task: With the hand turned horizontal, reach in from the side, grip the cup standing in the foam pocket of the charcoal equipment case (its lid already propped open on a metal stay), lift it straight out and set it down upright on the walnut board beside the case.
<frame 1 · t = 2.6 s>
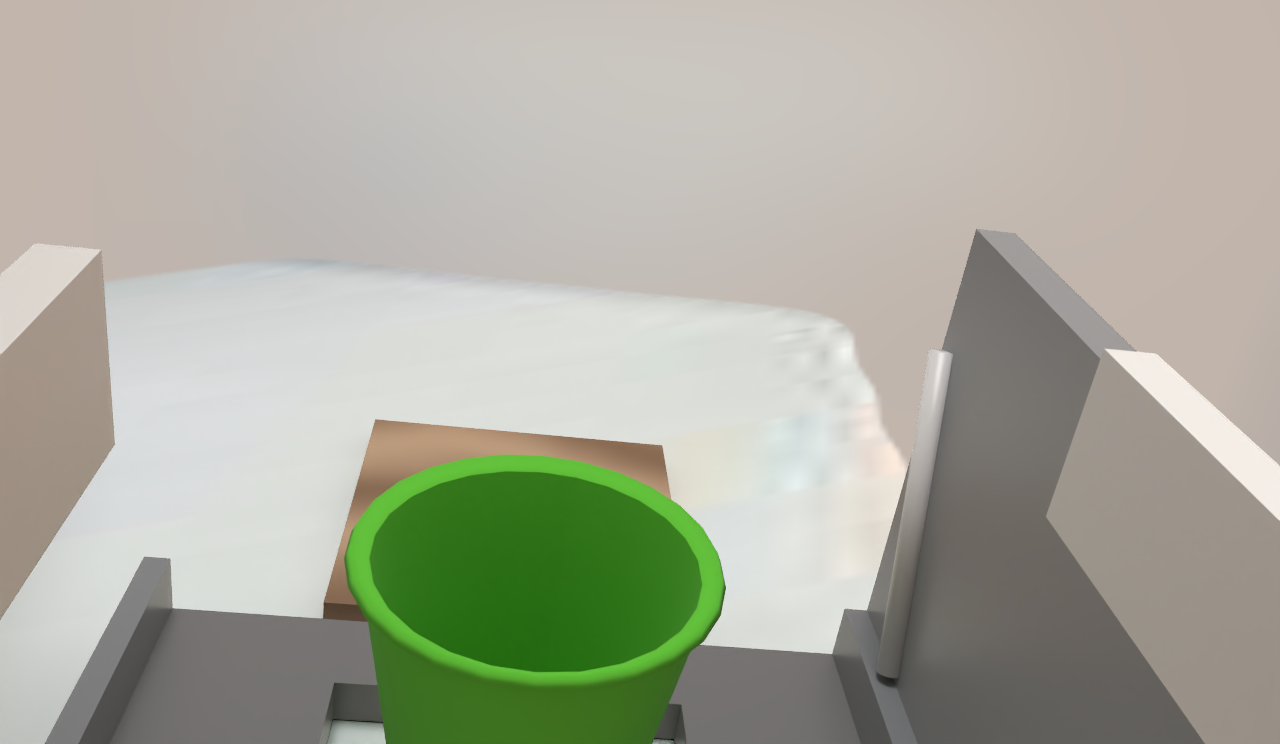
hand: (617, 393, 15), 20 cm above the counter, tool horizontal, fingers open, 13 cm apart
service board: (514, 533, 47), on the counter
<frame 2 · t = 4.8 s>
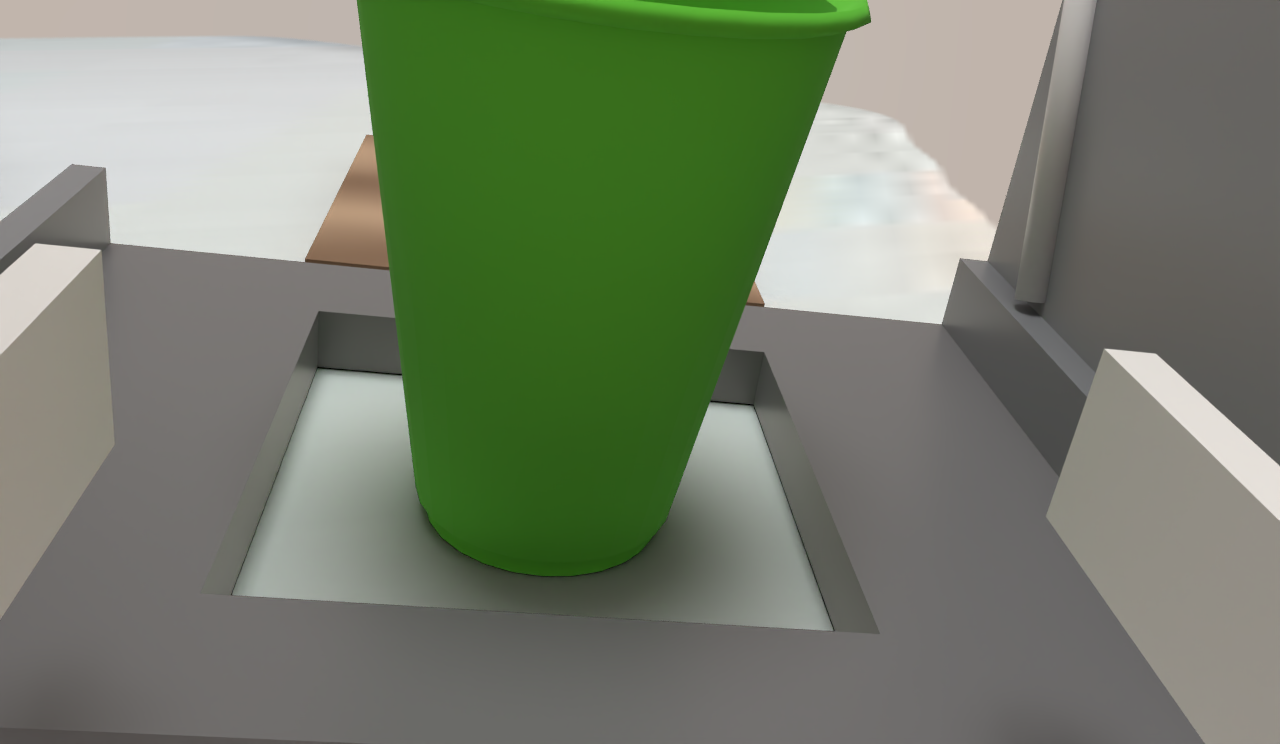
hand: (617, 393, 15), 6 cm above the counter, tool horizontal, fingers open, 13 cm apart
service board: (537, 236, 39), on the counter
cup: (541, 514, 24), resting in equipment case
equipment case: (542, 505, 24), on the counter
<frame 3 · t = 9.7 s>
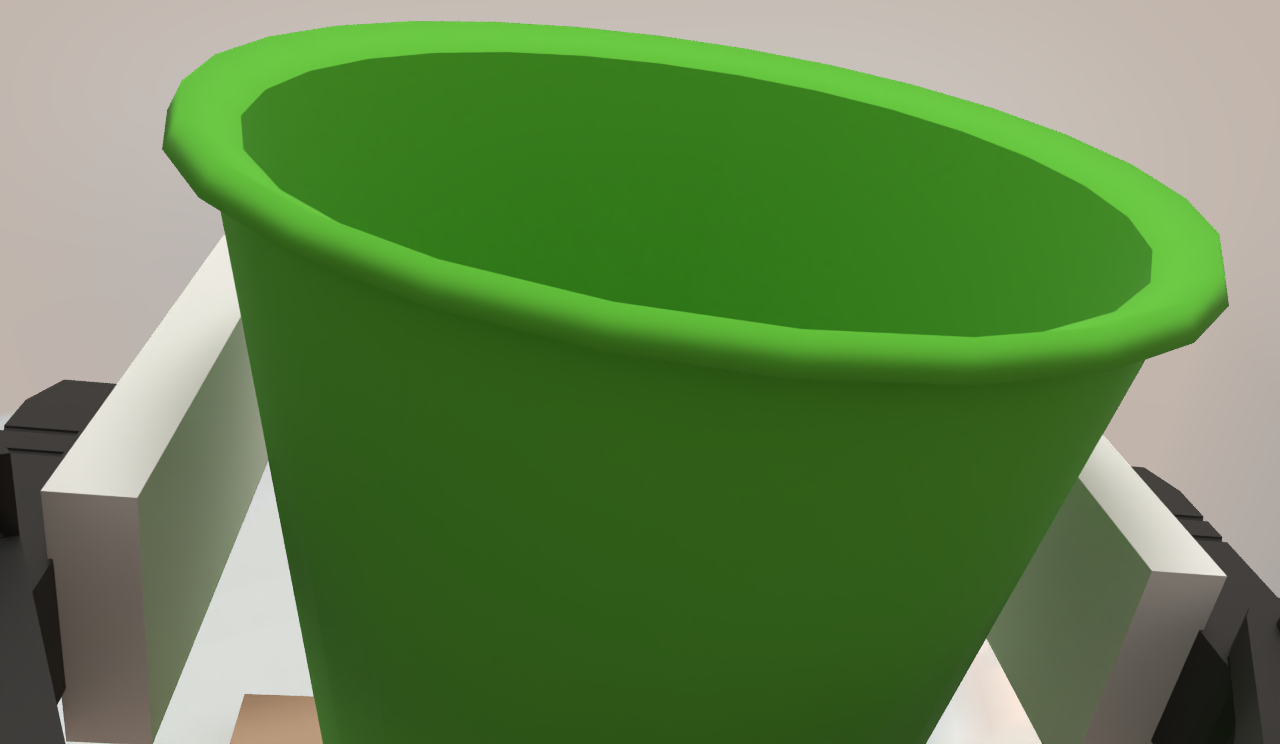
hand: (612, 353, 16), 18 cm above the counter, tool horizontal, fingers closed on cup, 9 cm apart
when the fingers open (9 cm above the counter, at t = 12.6 s): cup drops 1 cm, resting on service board.
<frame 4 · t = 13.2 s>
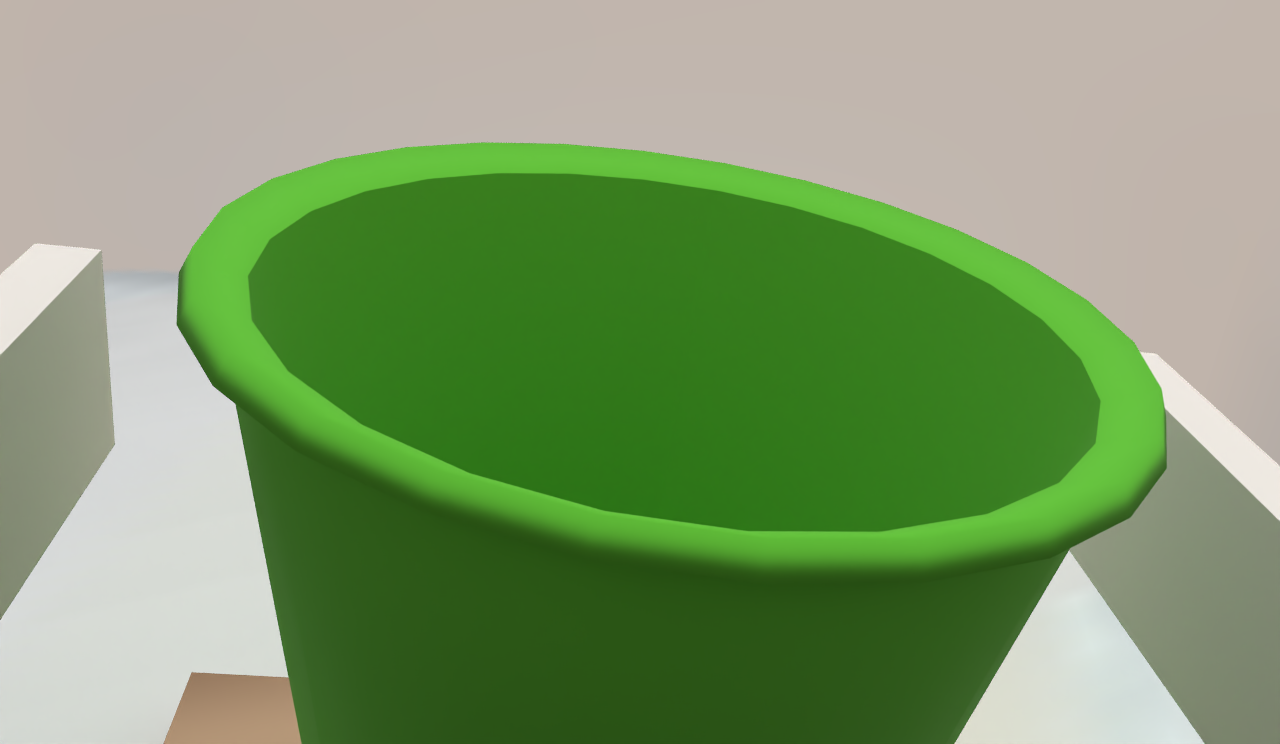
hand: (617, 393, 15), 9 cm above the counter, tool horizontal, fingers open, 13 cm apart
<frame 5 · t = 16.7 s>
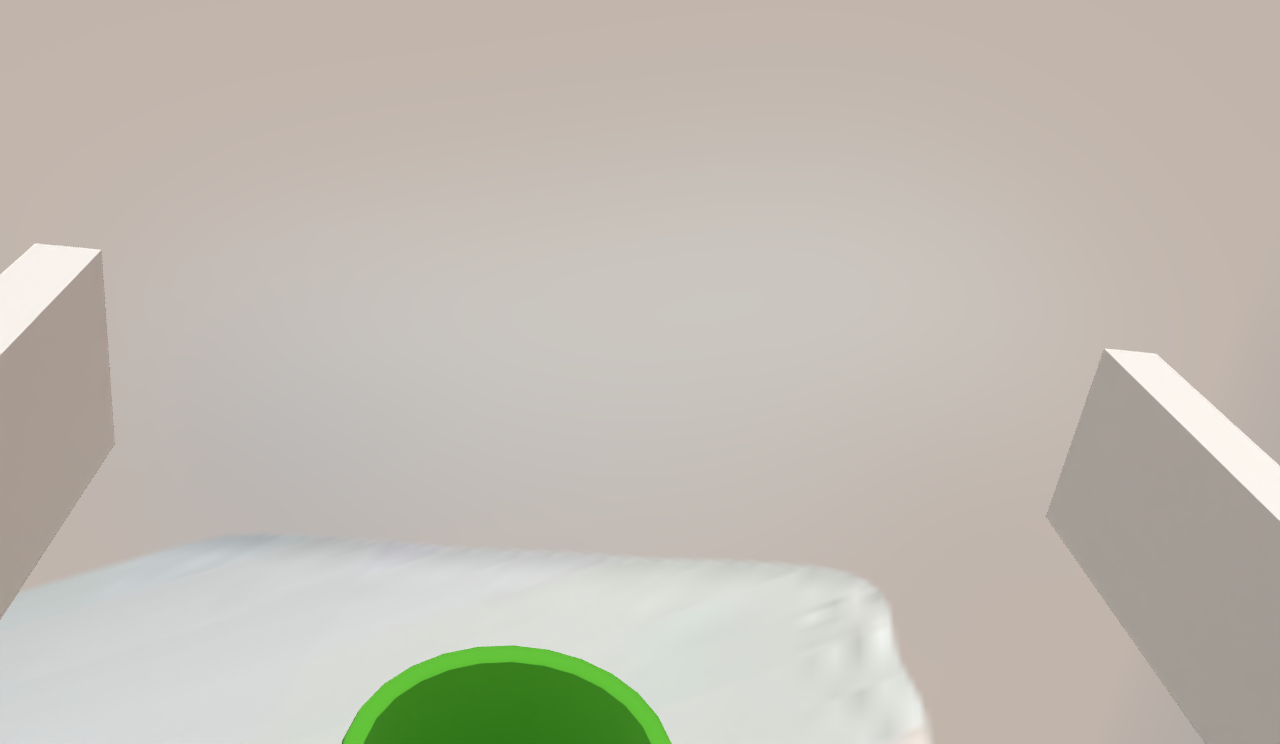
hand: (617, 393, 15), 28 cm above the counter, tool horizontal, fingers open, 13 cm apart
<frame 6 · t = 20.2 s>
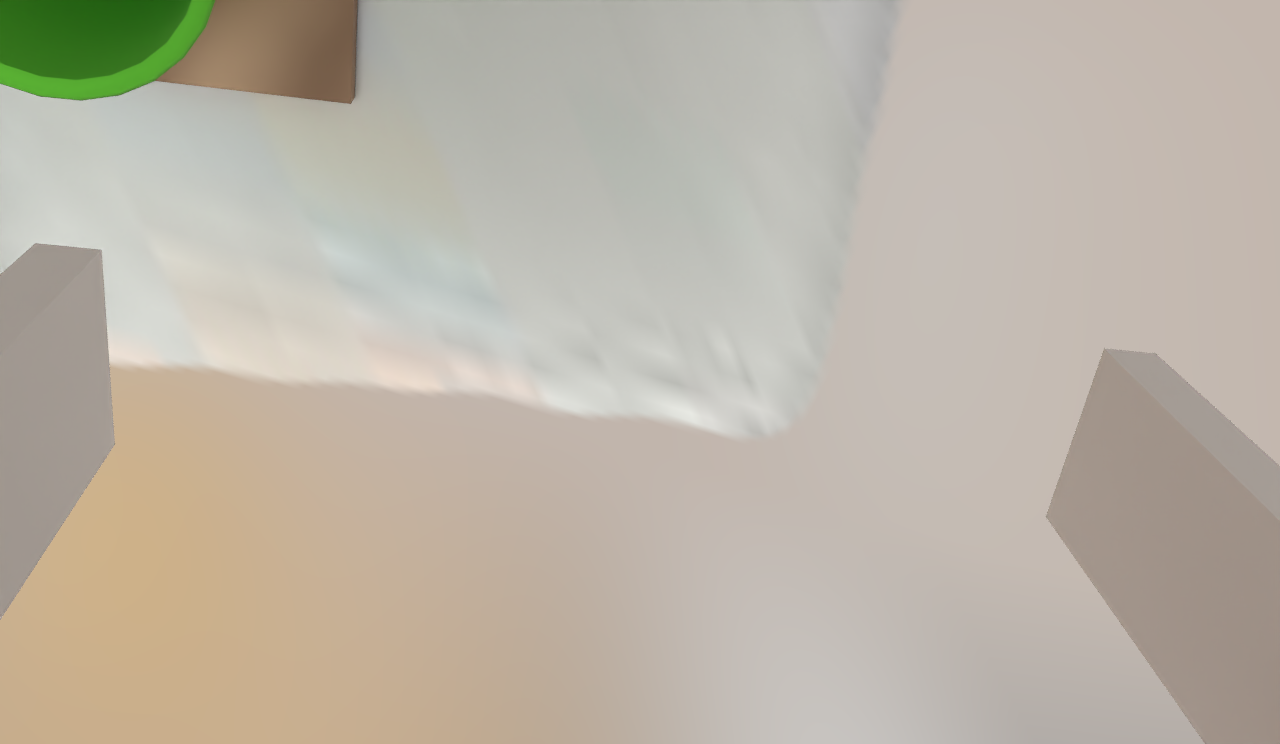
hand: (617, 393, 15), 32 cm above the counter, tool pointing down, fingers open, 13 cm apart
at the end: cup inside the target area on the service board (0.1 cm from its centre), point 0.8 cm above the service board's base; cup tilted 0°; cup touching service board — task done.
